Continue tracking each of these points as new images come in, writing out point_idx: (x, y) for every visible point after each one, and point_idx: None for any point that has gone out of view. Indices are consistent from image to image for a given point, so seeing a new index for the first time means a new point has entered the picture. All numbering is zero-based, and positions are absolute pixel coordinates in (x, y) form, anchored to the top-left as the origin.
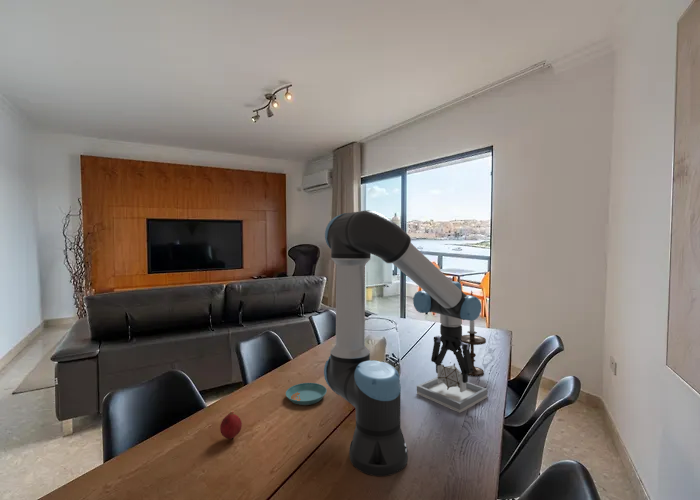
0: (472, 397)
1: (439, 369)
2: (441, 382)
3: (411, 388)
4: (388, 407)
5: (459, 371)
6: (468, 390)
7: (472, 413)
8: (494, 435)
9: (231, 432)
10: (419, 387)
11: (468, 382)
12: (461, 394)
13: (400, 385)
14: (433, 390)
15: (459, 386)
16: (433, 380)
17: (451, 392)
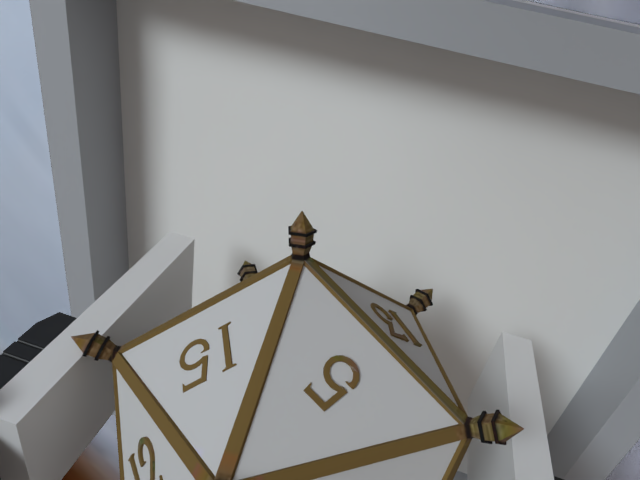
0: (637, 432)
1: (77, 449)
2: (192, 279)
3: (37, 290)
4: None
5: (394, 472)
6: (513, 106)
7: (628, 470)
8: None
9: None
10: (114, 411)
11: (496, 15)
12: (458, 263)
13: None
14: (192, 306)
15: (426, 306)
16: (89, 236)
17: (345, 268)
